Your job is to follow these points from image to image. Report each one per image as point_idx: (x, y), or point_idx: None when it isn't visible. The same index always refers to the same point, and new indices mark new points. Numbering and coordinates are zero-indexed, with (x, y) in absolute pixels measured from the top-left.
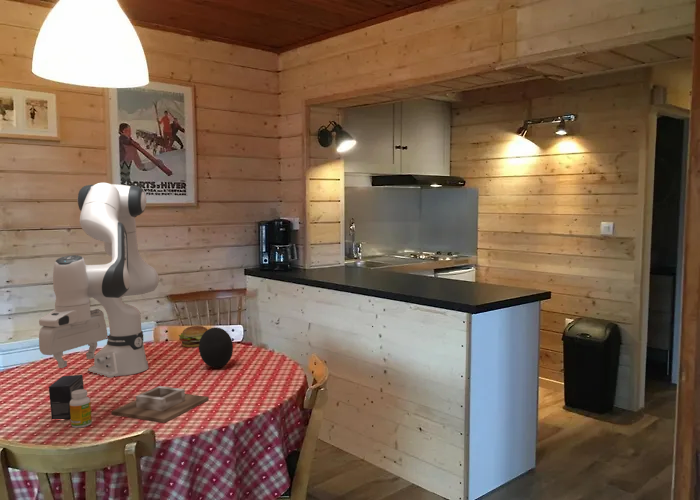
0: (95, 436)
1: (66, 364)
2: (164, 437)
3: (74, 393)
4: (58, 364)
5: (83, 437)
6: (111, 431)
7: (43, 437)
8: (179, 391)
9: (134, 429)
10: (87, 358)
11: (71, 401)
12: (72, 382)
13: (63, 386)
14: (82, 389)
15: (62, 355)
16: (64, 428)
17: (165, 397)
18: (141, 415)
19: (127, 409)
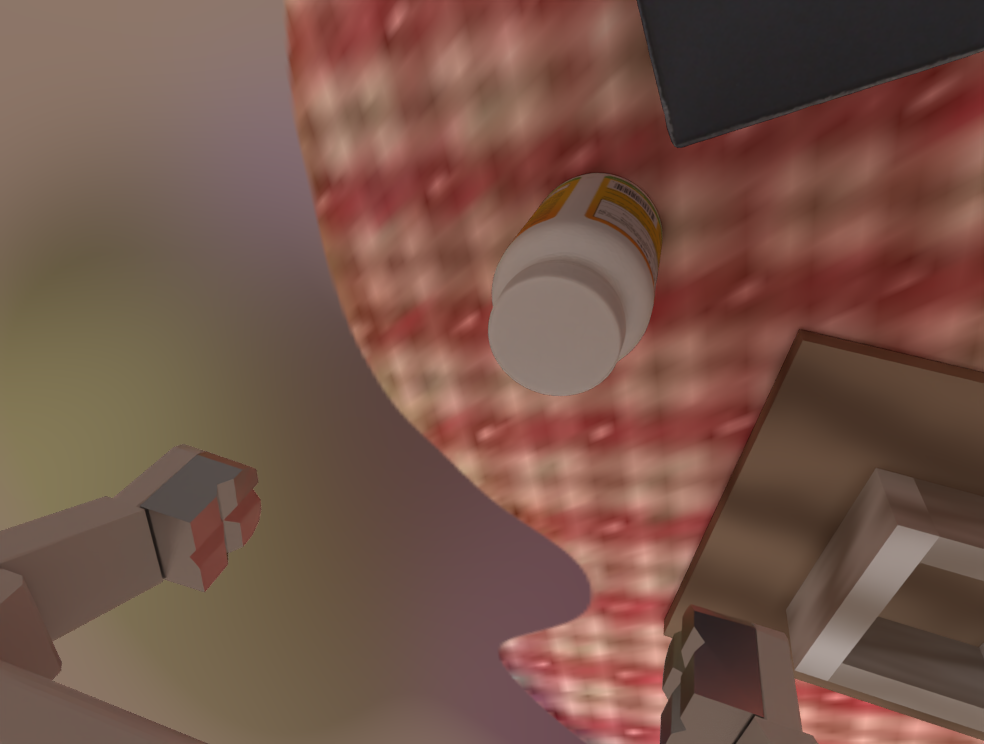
0: (462, 406)
1: (231, 546)
2: (517, 645)
3: (491, 333)
4: (152, 474)
5: (437, 357)
6: (532, 449)
7: (373, 127)
8: (973, 727)
9: (573, 532)
10: (685, 618)
11: (504, 272)
12: (790, 108)
13: (654, 68)
14: (612, 337)
15: (52, 664)
16: (521, 160)
17: (840, 680)
18: (716, 536)
19: (833, 429)
